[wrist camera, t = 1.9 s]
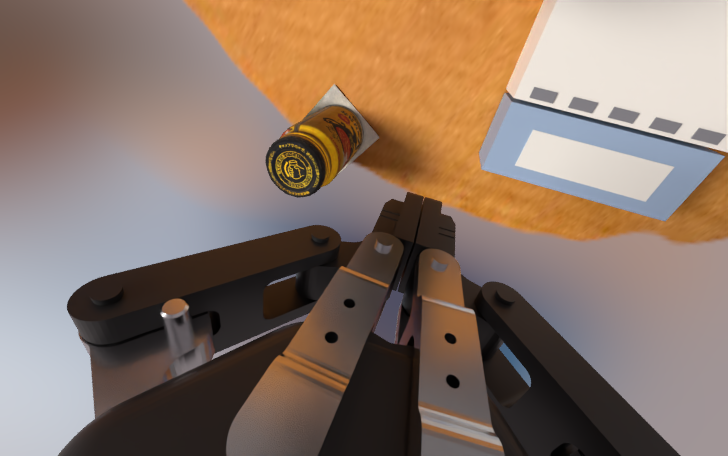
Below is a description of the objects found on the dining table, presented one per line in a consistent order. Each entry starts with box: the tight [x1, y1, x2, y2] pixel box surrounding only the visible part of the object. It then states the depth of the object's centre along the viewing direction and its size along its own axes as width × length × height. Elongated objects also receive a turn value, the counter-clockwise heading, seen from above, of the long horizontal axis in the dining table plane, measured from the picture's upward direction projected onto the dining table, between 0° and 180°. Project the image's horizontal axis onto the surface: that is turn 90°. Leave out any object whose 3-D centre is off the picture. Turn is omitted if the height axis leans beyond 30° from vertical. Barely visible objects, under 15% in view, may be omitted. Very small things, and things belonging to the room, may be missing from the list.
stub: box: [479, 93, 725, 221], centre depth 27 cm, size 6×16×5 cm, turn 79°
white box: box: [506, 0, 728, 152], centre depth 22 cm, size 12×16×5 cm
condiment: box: [266, 84, 380, 197], centre depth 31 cm, size 7×8×12 cm
